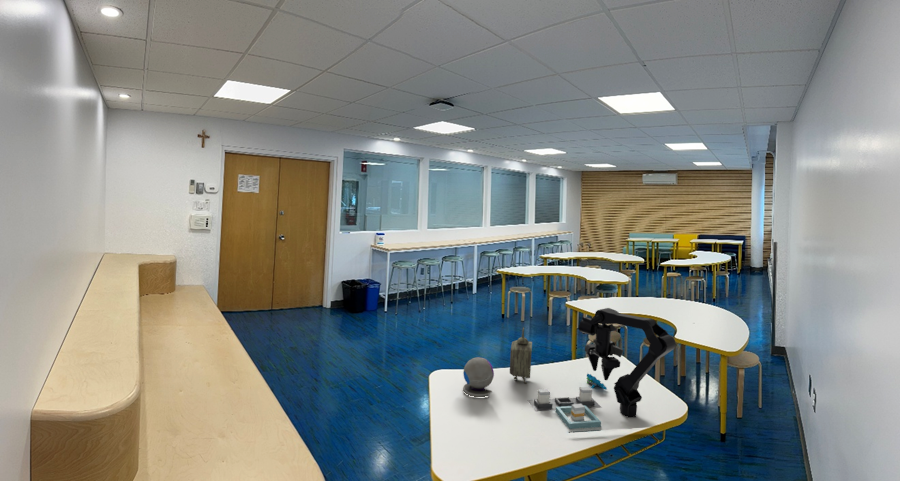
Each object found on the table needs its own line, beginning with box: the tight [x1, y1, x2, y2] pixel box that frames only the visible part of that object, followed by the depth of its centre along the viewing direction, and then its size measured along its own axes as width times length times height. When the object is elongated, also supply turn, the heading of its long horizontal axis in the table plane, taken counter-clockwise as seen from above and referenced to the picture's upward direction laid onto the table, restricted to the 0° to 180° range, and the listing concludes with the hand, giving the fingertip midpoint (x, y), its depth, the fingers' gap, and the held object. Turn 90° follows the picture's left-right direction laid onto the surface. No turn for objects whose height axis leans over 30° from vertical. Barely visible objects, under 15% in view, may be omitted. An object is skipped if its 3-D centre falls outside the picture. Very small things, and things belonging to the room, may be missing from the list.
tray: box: [554, 405, 602, 434], centre depth 167 cm, size 12×12×4 cm
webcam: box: [462, 356, 495, 397], centre depth 189 cm, size 13×13×15 cm
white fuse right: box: [578, 386, 593, 401], centre depth 180 cm, size 3×4×6 cm, turn 100°
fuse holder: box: [527, 396, 603, 412], centre depth 179 cm, size 9×28×3 cm, turn 100°
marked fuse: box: [570, 404, 586, 422], centre depth 167 cm, size 3×4×6 cm, turn 105°
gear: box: [586, 373, 608, 390], centre depth 195 cm, size 11×6×10 cm
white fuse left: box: [536, 388, 551, 404], centre depth 177 cm, size 3×4×6 cm, turn 100°
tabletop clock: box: [509, 327, 533, 385], centre depth 201 cm, size 14×9×25 cm, turn 168°
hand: (600, 375), depth 182 cm, fingers open, 9 cm apart
